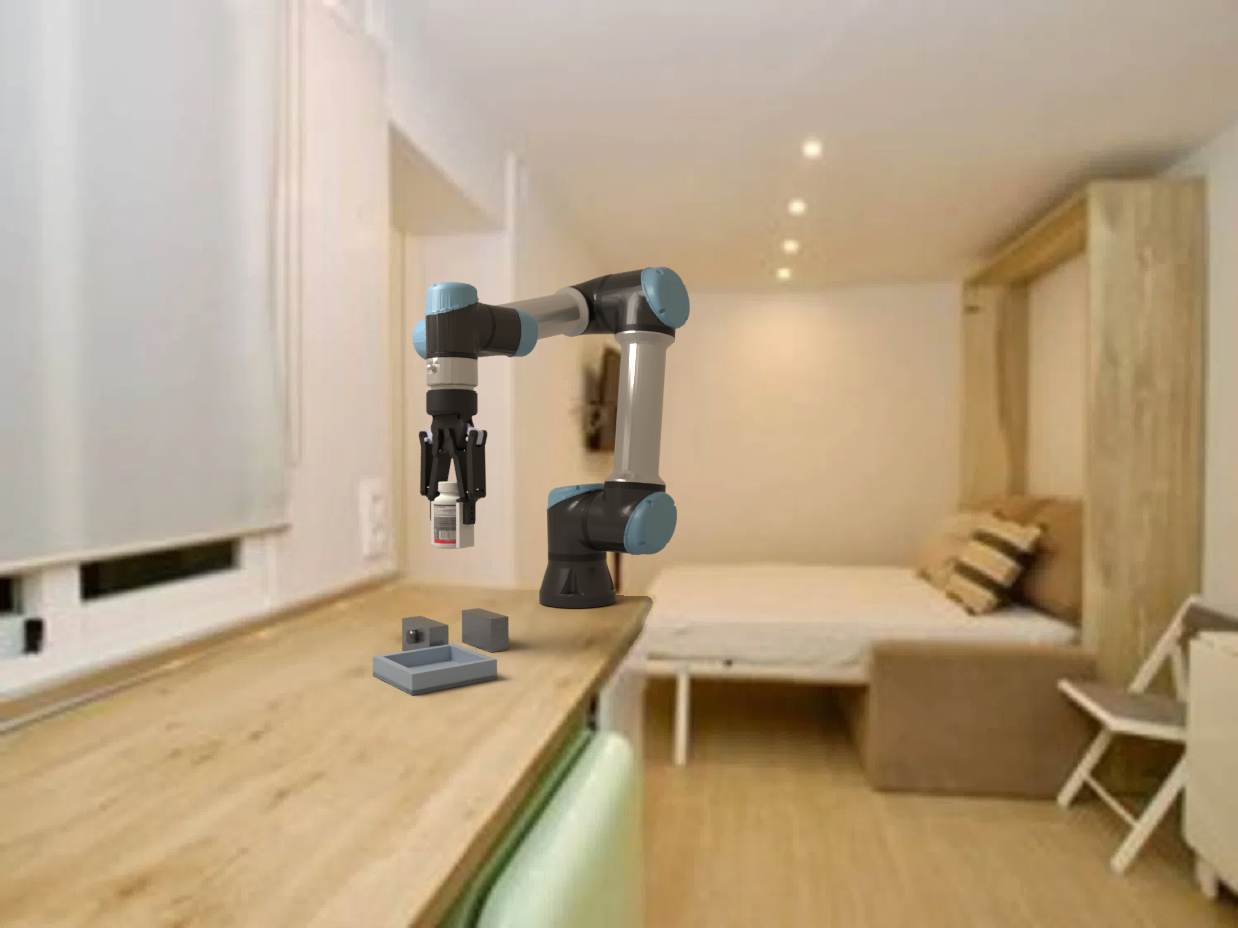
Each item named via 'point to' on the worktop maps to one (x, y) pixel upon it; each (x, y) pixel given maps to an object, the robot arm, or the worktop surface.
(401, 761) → the worktop surface
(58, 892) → the worktop surface
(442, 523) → the pill bottle
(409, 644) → the grey twin blocks
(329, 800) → the worktop surface
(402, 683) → the tray
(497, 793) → the worktop surface
